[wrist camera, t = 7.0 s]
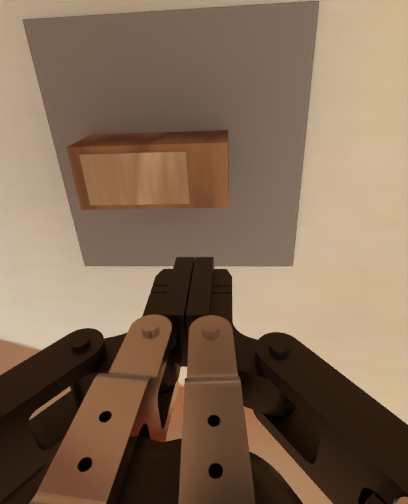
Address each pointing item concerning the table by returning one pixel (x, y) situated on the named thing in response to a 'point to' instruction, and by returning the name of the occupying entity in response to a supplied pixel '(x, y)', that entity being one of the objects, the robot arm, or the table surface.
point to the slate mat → (186, 120)
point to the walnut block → (151, 170)
